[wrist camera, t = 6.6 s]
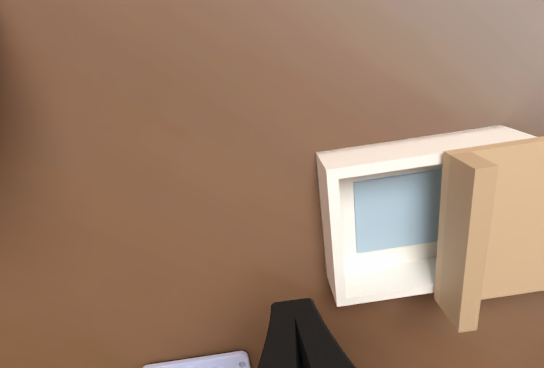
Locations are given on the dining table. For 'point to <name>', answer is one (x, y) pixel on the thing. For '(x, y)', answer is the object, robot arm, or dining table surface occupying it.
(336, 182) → the box
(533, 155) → the lid
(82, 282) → the dining table surface
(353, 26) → the dining table surface
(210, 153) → the dining table surface
